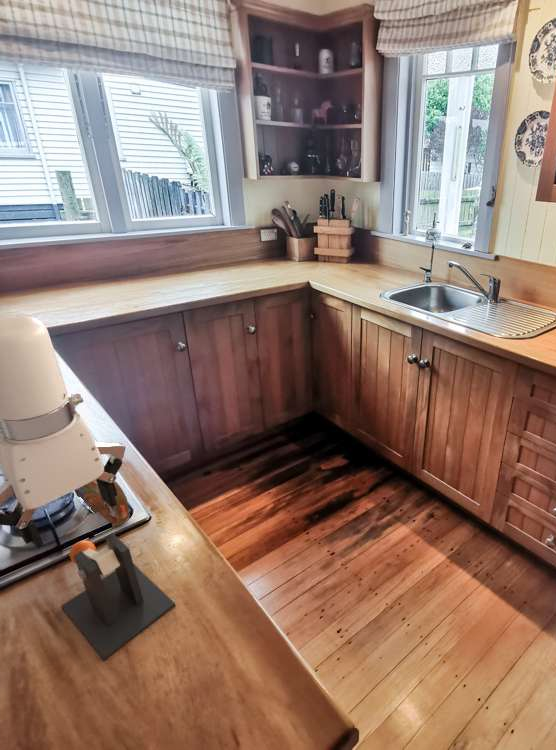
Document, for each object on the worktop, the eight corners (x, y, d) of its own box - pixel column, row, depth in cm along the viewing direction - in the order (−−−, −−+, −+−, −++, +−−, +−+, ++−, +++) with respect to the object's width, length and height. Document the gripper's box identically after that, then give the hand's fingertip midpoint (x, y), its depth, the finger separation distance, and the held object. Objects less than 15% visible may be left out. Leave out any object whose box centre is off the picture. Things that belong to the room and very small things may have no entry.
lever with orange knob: (72, 566, 68) (62, 547, 67) (95, 553, 70) (86, 534, 69) (101, 581, 60) (90, 560, 59) (125, 565, 62) (115, 545, 61)
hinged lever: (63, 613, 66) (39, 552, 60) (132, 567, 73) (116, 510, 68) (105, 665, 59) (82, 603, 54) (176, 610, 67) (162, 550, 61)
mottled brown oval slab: (75, 499, 86) (63, 463, 82) (92, 490, 88) (81, 454, 84) (119, 536, 78) (108, 498, 74) (137, 525, 81) (127, 487, 77)
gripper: (95, 383, 65) (122, 479, 73) (-62, 437, 53) (-9, 546, 61) (122, 399, 61) (148, 499, 69) (-40, 463, 49) (13, 576, 57)
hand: (75, 521), depth 65 cm, fingers open, 9 cm apart
